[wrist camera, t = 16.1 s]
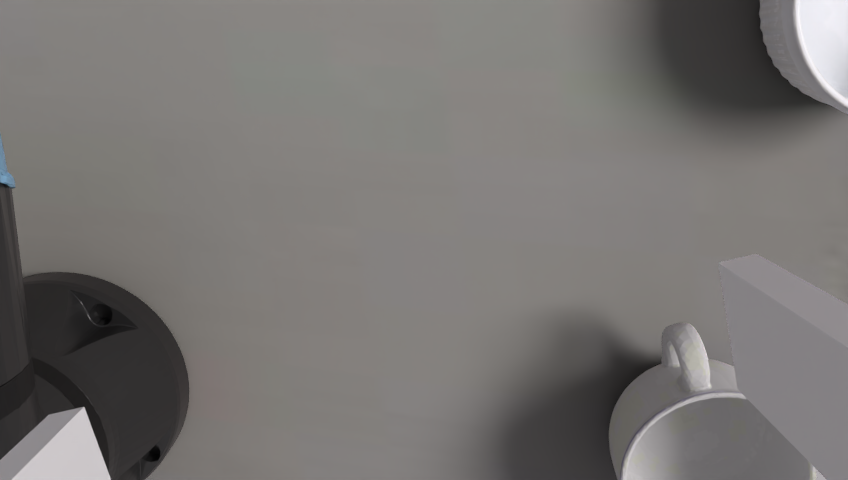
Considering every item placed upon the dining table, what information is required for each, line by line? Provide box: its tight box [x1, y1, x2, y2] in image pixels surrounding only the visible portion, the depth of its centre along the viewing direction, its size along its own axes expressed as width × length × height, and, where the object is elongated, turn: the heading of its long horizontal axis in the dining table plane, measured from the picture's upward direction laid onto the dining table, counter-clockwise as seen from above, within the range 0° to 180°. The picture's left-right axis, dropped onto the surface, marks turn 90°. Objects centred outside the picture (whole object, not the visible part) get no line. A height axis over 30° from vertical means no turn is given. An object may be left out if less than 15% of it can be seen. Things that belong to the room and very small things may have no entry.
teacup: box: [609, 323, 816, 480], centre depth 45 cm, size 14×11×8 cm
